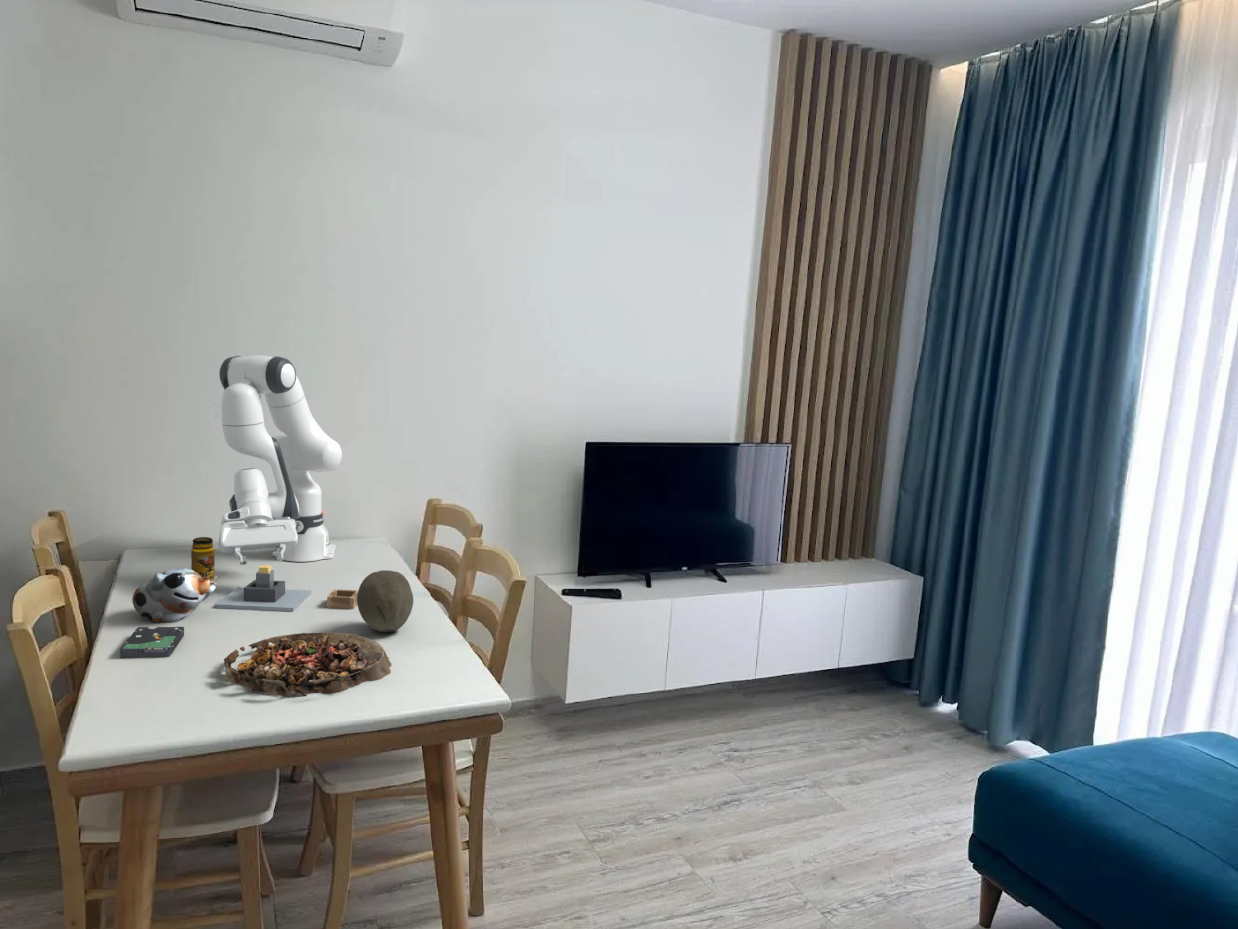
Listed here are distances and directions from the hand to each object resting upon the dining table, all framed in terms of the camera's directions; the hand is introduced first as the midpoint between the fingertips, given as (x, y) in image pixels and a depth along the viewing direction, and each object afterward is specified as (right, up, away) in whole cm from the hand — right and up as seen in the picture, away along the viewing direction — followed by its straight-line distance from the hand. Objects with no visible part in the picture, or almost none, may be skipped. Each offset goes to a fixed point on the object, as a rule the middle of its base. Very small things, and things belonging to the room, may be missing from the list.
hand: (262, 562), depth 251 cm
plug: (+1, -9, -2) cm, 9 cm away
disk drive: (-10, -16, -38) cm, 43 cm away
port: (+1, -10, -1) cm, 10 cm away
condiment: (-23, -7, +15) cm, 28 cm away
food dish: (+29, -19, -47) cm, 58 cm away
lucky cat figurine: (-15, -12, -17) cm, 26 cm away
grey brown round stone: (+38, -15, -19) cm, 45 cm away
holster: (+22, -11, -1) cm, 25 cm away
